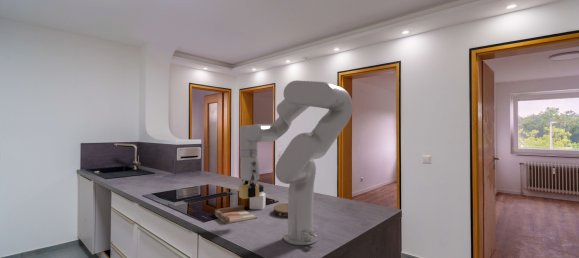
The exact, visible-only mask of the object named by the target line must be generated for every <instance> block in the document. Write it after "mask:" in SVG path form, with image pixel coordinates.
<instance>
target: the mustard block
mask: <svg viewBox="0 0 579 258" xmlns="http://www.w3.org/2000/svg"><path fill="white" fill-rule="evenodd" d="M259 185H260V184H259ZM259 185H258V183H256V187H255V194H256V196H255V197H259ZM248 188H249V184H248V185H243V184H241V185H238V197H239V198H240V199H242V200H245V199H250V198H254V197H250V198H249V197H248Z"/></svg>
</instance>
